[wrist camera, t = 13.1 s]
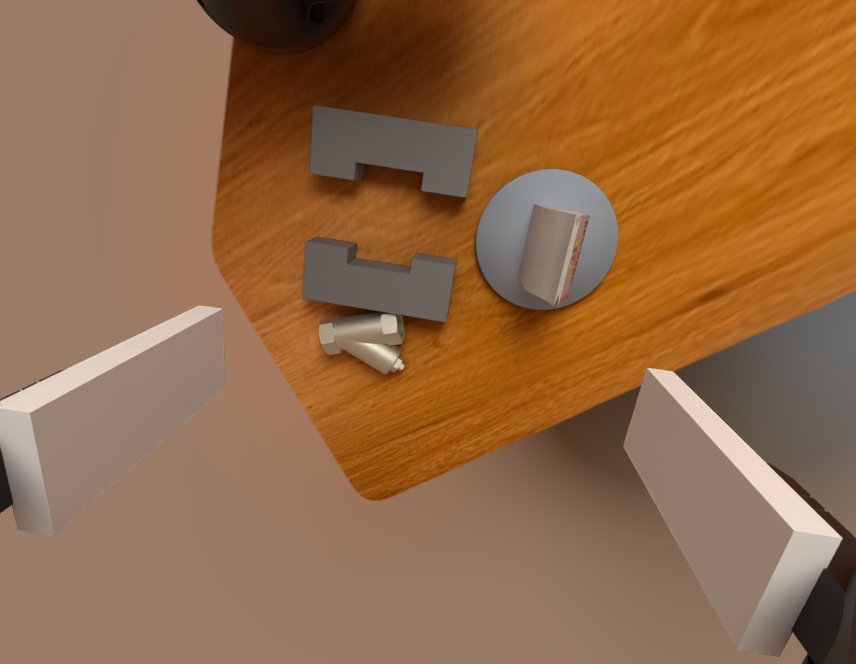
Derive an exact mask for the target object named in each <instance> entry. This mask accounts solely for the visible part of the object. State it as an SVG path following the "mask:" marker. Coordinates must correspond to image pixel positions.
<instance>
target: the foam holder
mask: <svg viewBox="0 0 856 664" xmlns="http://www.w3.org/2000/svg"><path fill="white" fill-rule="evenodd" d="M477 133H478V129H472V128H465V127H458V126H452V125H445V124H438V123H431V122H425V121H418V120H411V119H405V118H398V117H391V116H384V115H378V114H371V113H364V112H357V111H351V110H344V109H337V108H331V107H324V106H317V105H313V120H312V138H311V156H310V174H317V175H323V176H330V177H336V178H343V179H349V180H363V174H364V164H370V165H377V166H383V167H390V168H396V169H403V170H410V171H416V172H423V173H424V174H423V181H422V189H421V191H426V192H433V193H439V194H446V195H452V196H459V197H465V198H467V193H468V187H469V181H470V175H471V169H472V163H473V157H474V151H475V145H476V139H477ZM356 250H357V243H353V242H347V241H340V240H334V239H328V238H322V237H316V238H313V239H311V240H308V241H306V245H305V263H304V281H303V299H309V300H315V301H321V302H327V303H333V304H339V305H345V306H351V307H357V308H363V309H369V310H375V311H381V312H387V313H393V314H399V315H405V316H411V317H417V318H423V319H429V320H435V321H441V322H446V319H447V314H448V308H449V302H450V296H451V290H452V284H453V278H454V272H455V266H456V260H457V259H452V258H446V257H440V256H434V255H427V254H421V253H416V254H415V255H414V257H413V258H412V264H411V267H408V266H401V265H395V264H389V263H383V262H377V261H370V260H364V259H358V258H356Z"/></svg>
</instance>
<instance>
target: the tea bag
mask: <svg viewBox="0 0 856 664" xmlns="http://www.w3.org/2000/svg"><path fill="white" fill-rule="evenodd" d="M589 217H590V215H588V214H585V213H582V212H578V211H575V210H569V209H563V208H557V207H551V206H545V205H539V204H534V206H533V210H532V215H531V219H530V224H529V228H528V233H527V238H526V242H525V247H524V251H523V256H522V260H521V265H520V269H519V274H518V277H519V279H520V281H521V283H522V285H523V287H524V289H525V290H526V291H528V292H530V293H532V294H534V295H536V296H538V297H540V298H542V299H543V300H545V301H547V302H549V303H550V304H551V305H553V306H554V304H555V302H556V300H557V301H558V305H559V303H560V302H562V301H563V300H565V299H566V298H568V297H569V294H570V290H571V286H572V282H573V278H574V274H575V271H576V267H577V263H578V259H579V255H580V252H581V248H582V244H583V240H584V236H585V233H586V229H587V225H588V221H589Z"/></svg>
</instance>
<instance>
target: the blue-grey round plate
mask: <svg viewBox="0 0 856 664" xmlns="http://www.w3.org/2000/svg"><path fill="white" fill-rule="evenodd" d="M534 204H539V205H545V206H551V207H557V208H563V209H569V210H575V211H578V212H582V213H585V214H588V215H590V217H589V221H588V225H587V229H586V233H585V236H584V240H583V244H582V248H581V252H580V255H579V259H578V263H577V267H576V271H575V274H574V278H573V282H572V286H571V290H570V294H569V297H568V298H566V299H565V300H563V301H562V302H560V303H559V305H558V301H557V300H556V302H555V304H554V306H553V305H551V304H550V303H549V302H547V301H545V300H543V299H542V298H540V297H538V296H536V295H534V294H532V293H530V292H528V291H526V290H525V289H524V287H523V285H522V283H521V281H520V279H519V277H518V274H519V269H520V265H521V260H522V256H523V251H524V247H525V242H526V238H527V233H528V228H529V224H530V219H531V215H532V210H533V206H534ZM617 245H618V225H617V219H616V215H615V213H614V210H613V207H612V205H611V203H610V202H609V200H608V198H607V197H606V196H605V194H604V193H603V192H602V191H601V190H600V189H599V187H598V186H597V185H595V184H594V183H593V182H591V181H590V180H588V179H587V178H585V177H583V176H581V175H579V174H576V173H573V172H570V171H566V170H558V169H545V170H538V171H533V172H530V173H527V174H524V175H521V176H519V177H517V178H515V179H513V180H512V181H510V182H509V183H507V184H506V185H505V186H504V187H502V188H501V189H500V190H499V191H498V192H497V193H496V194H495V195H494V196H493V197H492V199H491V200H490V202H489V203H488V204H487V206H486V208H485V210H484V212H483V214H482V216H481V219H480V221H479V225H478V229H477V236H476V251H477V258H478V262H479V265H480V268H481V270H482V273H483V275H484V277H485V278H486V280H487V282H488V283H489V284H490V285H491V287H492V288H493V289H494V290H495V291H496V292H497V293H498V294H499V295H500V296H502V297H503V298H505V299H506V300H508V301H510V302H512V303H513V304H516V305H518V306H521V307H525V308H529V309H536V310H549V309H556V308H560V307H564V306H567V305H570V304H572V303H574V302H576V301H578V300H580V299H582V298H583V297H585V296H586V295H587V294H589V293H590V292H591V291H592V290H593V289H595V288H596V287H597V286H598V284H599V283H600V282H601V281H602V280H603V279H604V277H605V275H606V274H607V272H608V271H609V269H610V267H611V265H612V263H613V260H614V257H615V254H616V250H617Z"/></svg>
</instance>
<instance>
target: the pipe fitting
mask: <svg viewBox="0 0 856 664" xmlns="http://www.w3.org/2000/svg"><path fill="white" fill-rule="evenodd" d="M319 339H320V343H321V346H322V348H323V350H324V351H325V352H326V353H327V354H328V355H333V354H340V353H342V352H343V351H344V350H345V351H347V352H348V353H350V354H352V355H353V356H355V357H356V358H358V359H360V360H361V361H363V362H365V363H366V364H368V365H369V366H371V367H373V368H374V369H376V370H378V371H379V372H381V373H382V374H384V375H385V374H387V373H388V371H389V370H390V371H392V372H393V373H394V372H395V371H396V370H399V371H401V370H402V369H403V368H404V366H405V363H404V362H402V361H403V356H401V355H400V352H401V347H399V346H398V344H402V343H403V342H404V339H405V328H404V321H403V317H402V315H399V314H393V313H387V312H381V311H380V312H374V313H368V314H362V315H356V316H350V317H343V318H338V317H337V316H333V317H327V318H324V319H323V320H322V321H321V322H320V324H319Z"/></svg>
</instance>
